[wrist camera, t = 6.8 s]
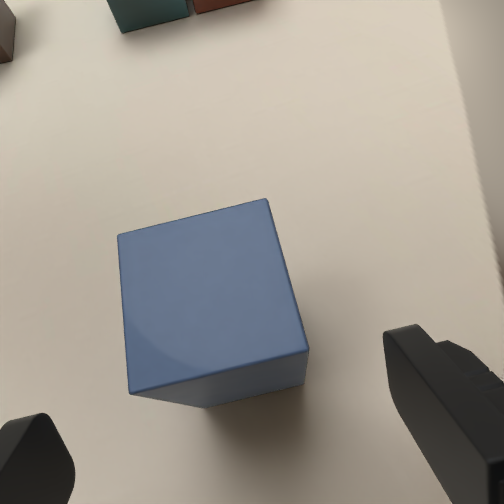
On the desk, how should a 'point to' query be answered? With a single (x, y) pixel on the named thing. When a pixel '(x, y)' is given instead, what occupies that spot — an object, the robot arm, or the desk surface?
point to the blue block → (210, 309)
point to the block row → (119, 16)
